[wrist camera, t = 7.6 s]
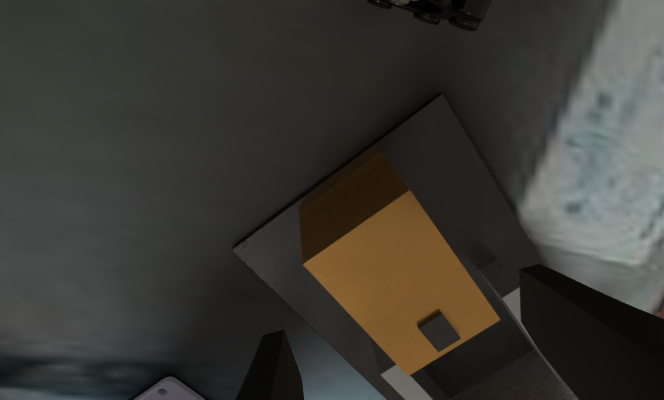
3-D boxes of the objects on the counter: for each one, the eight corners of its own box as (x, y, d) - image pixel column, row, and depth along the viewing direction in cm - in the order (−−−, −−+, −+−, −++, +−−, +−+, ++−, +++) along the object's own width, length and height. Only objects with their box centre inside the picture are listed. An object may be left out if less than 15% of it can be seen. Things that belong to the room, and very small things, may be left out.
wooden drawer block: (455, 260, 22) (503, 322, 17) (382, 307, 23) (408, 379, 18) (379, 152, 19) (411, 191, 14) (298, 210, 20) (303, 267, 15)
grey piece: (423, 430, 28) (454, 519, 23) (232, 246, 20) (215, 317, 15) (584, 335, 26) (658, 409, 21) (439, 92, 18) (498, 115, 13)
